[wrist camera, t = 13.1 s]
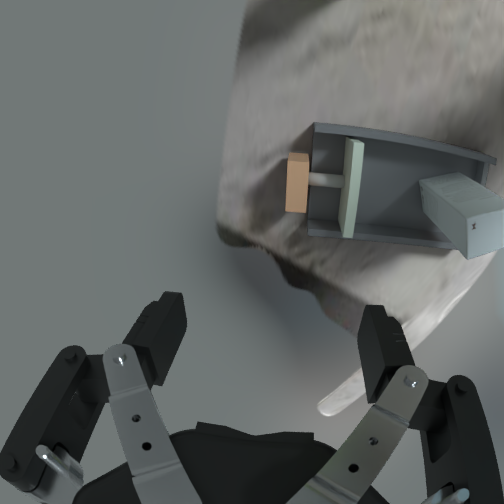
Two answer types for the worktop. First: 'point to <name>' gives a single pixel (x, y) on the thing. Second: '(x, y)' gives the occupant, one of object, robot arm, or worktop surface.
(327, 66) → the worktop surface
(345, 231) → the pusher
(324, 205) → the pusher lane
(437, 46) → the worktop surface
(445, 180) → the skincare box
